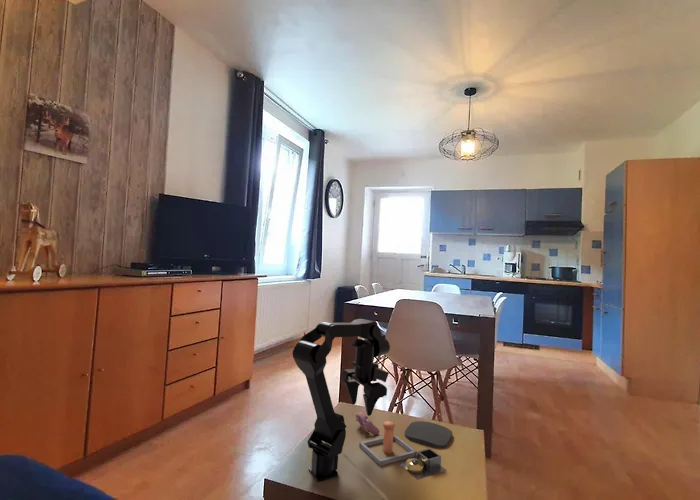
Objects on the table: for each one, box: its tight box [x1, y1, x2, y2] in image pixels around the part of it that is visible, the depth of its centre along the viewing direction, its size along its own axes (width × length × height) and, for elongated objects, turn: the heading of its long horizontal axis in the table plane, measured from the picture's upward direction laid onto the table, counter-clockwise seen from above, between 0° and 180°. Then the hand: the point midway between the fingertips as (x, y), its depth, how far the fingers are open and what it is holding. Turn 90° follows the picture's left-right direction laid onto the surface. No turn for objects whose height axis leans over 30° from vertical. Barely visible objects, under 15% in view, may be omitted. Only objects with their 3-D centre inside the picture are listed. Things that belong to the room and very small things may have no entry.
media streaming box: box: [404, 420, 453, 449], centre depth 126 cm, size 15×15×3 cm
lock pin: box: [382, 420, 396, 455], centre depth 114 cm, size 4×4×9 cm
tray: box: [358, 434, 418, 466], centre depth 113 cm, size 14×12×2 cm
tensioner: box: [397, 448, 448, 480], centre depth 106 cm, size 11×9×4 cm
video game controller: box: [354, 411, 380, 436], centre depth 128 cm, size 10×5×7 cm, turn 24°
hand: (361, 409), depth 114 cm, fingers open, 9 cm apart
